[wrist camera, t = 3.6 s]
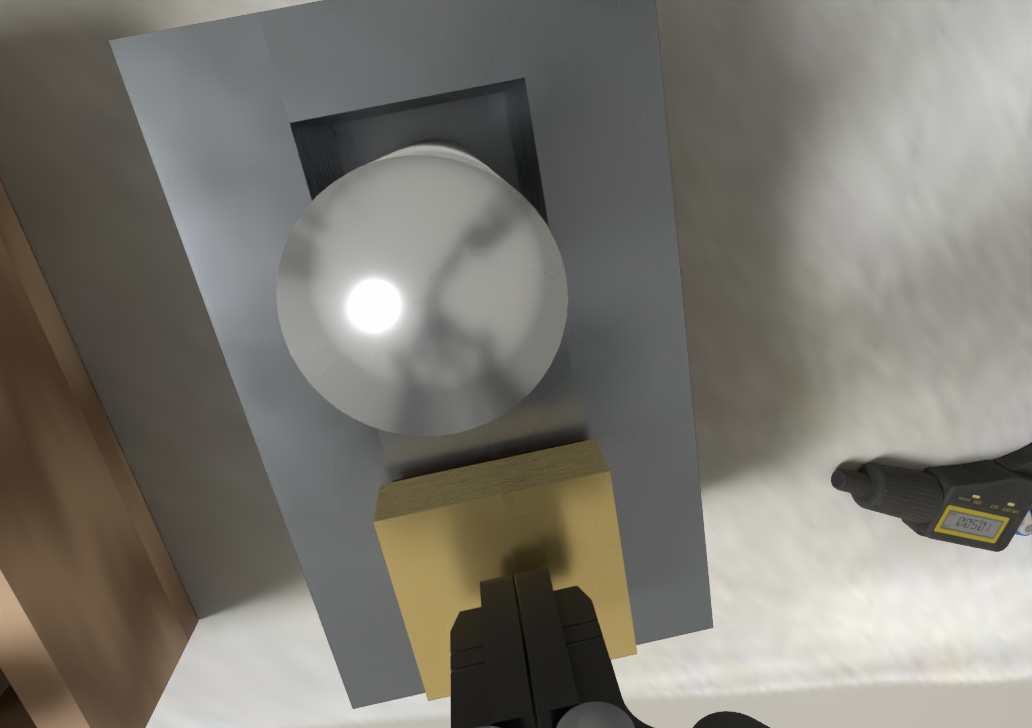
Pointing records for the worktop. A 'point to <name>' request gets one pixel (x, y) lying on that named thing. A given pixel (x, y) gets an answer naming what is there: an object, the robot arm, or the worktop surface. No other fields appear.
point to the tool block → (522, 164)
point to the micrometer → (951, 498)
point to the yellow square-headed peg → (502, 543)
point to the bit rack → (72, 532)
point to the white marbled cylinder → (422, 292)
